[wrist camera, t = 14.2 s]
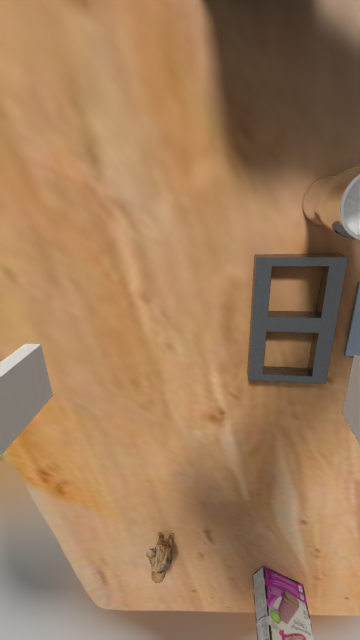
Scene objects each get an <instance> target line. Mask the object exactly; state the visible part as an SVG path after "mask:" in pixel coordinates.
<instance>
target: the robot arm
mask: <svg viewBox="0 0 360 640" xmlns="http://www.w3.org/2000/svg"><path fill="white" fill-rule="evenodd" d="M52 396H53V394H52V390H51V386H50V381H49V377H48V373H47V368H46V364H45V360H44V355H43V351H42V347H41V344H24V345H23V346H22V347H20V348H19V349H18V350H16V351H15V352H14V353H12V354H11V355H9V356H8V357H7V358H5V359H4V360H3V361H1V362H0V456H1V455H2V454H3V453H4V452H5V450H6V449H7V448H8V447H9V446H10V445H11V443H12V442H13V441H14V440H15V439H16V438H17V436H18V435H19V434H20V433H21V432H22V431H23V429H24V428H25V427H26V426H27V425H28V424H29V423H30V421H31V420H32V419H33V418H34V417H35V416H36V414H37V413H38V412H39V411H40V410H41V409H42V407H43V406H44V405H45V404H46V403H47V402H48V400H49V399H50V398H51V397H52ZM342 413H343V415H344V417H345V419H346V421H347V422H348V424H349V426H350V428H351V430H352V432H353V433H354V435H355V437H356V439H357V441H358V443H359V444H360V355H354V359H353V364H352V369H351V374H350V378H349V383H348V388H347V393H346V397H345V402H344V407H343V412H342Z"/></svg>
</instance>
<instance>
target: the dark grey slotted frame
mask: <svg viewBox="0 0 360 640" xmlns="http://www.w3.org/2000/svg"><path fill="white" fill-rule="evenodd" d="M347 261H348V257H347V256H345V255H343V254H274V255H255V256H254V272H253V289H252V305H251V321H250V338H249V354H248V371H247V372H248V380H260V381H281V382H302V383H323V384H326V379H327V373H328V367H329V362H330V356H331V351H332V345H333V339H334V334H335V328H336V322H337V317H338V311H339V306H340V300H341V294H342V289H343V283H344V277H345V272H346V266H347ZM272 266H323V271H322V278H321V284H320V291H319V298H318V305H317V311H316V312H294V311H268V306H269V294H270V282H271V270H272ZM266 332H304V333H313V338H312V345H311V352H310V359H309V365H308V368H290V367H266V366H264V354H265V342H266Z"/></svg>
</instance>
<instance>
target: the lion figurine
mask: <svg viewBox="0 0 360 640" xmlns="http://www.w3.org/2000/svg"><path fill="white" fill-rule="evenodd" d="M158 536H159V541H158V544H157V546H156V547H155V549H154V548H153V547H151V548H150V550H149V551H148V553H147V554H146V556H147V557H148V558H149V560H150V563H151V571H152V580H153V581H154V582H155V583H160V582H162V581H163V579H164V577H165V574H166V570H167V568H168V567H169V566H170V564H171V561H172V540H173V537H174V534H173V533H170V534H169V543H168V544H167V543H164V542H162V541H163V538H164V536H163V533H162V532H159V533H158Z"/></svg>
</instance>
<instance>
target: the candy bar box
mask: <svg viewBox="0 0 360 640" xmlns="http://www.w3.org/2000/svg"><path fill="white" fill-rule="evenodd" d="M253 585H254V598H255V612H256V626H257V640H314V637H313V633H312V628H311V623H310V617H309V612H308V607H307V602H306V597H305V592H304V587H303V585H302V584H300V583H297V582H295V581H293V580H291V579H289V578H287V577H285V576H282V575H280V574H278V573H276V572H274V571H272V570H270V569H268V568H265V567H262V568H260V569H259V570H258V571H257V572H256V573H255V574H254V575H253Z"/></svg>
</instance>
